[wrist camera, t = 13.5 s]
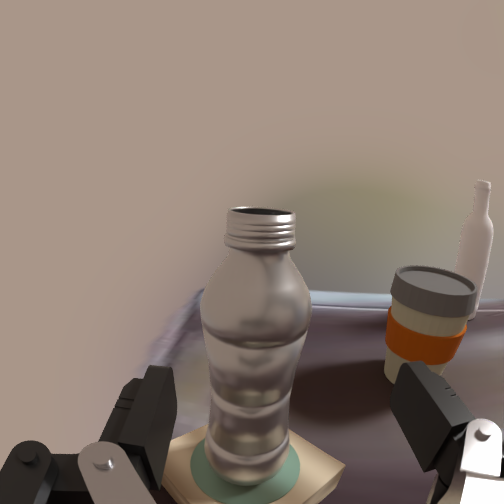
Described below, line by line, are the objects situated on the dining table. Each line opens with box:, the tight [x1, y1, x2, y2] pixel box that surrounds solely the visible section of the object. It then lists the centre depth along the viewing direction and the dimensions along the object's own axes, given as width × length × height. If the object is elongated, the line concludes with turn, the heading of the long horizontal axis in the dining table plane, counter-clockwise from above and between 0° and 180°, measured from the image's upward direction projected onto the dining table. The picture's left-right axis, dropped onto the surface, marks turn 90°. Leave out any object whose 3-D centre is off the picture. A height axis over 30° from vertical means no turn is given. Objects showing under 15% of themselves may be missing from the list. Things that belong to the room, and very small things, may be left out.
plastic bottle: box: [200, 207, 312, 486], centre depth 19 cm, size 6×7×20 cm
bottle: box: [454, 180, 494, 320], centre depth 56 cm, size 8×8×30 cm
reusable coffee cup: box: [384, 265, 478, 384], centre depth 38 cm, size 13×13×15 cm
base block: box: [161, 424, 346, 504], centre depth 22 cm, size 12×12×4 cm
